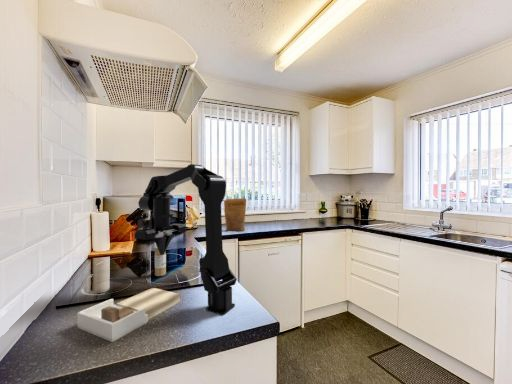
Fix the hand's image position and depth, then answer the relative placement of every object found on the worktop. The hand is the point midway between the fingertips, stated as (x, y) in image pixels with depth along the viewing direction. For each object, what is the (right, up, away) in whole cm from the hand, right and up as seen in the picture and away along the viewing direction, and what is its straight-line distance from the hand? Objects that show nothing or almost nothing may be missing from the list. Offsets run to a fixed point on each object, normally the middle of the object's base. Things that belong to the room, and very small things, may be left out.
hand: (162, 254), depth 91 cm
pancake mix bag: (+16, -11, +124) cm, 126 cm away
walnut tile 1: (-3, -10, -25) cm, 27 cm away
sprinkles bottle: (-6, -12, +14) cm, 20 cm away
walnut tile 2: (-2, -12, -23) cm, 26 cm away
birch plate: (+2, -12, -15) cm, 19 cm away
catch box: (-4, -12, -25) cm, 28 cm away
